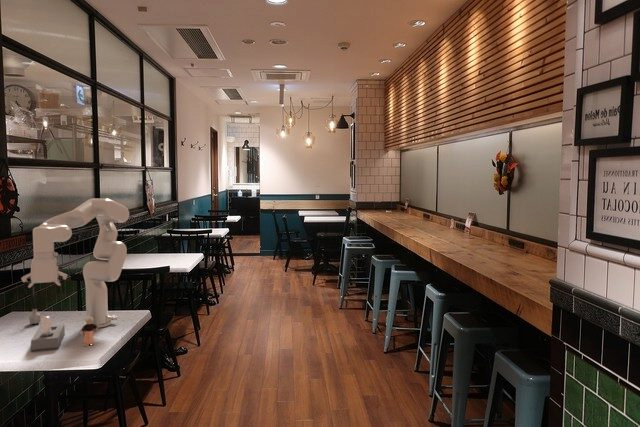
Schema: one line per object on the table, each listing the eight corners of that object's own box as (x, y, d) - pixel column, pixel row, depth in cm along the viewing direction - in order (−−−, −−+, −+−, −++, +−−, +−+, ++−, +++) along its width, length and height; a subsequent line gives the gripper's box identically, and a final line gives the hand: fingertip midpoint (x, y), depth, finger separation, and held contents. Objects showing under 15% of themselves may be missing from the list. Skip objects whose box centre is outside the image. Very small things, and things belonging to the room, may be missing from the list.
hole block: (64, 334, 226) (64, 324, 226) (58, 349, 208) (58, 337, 207) (40, 337, 223) (39, 326, 223) (31, 352, 204) (30, 340, 204)
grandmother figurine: (84, 348, 210) (83, 318, 209) (79, 346, 212) (78, 317, 211) (100, 343, 216) (100, 314, 215) (95, 341, 218) (94, 313, 217)
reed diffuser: (43, 324, 241) (41, 284, 240) (26, 327, 237) (25, 286, 235) (38, 320, 249) (36, 281, 247) (22, 322, 244) (21, 283, 243)
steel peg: (52, 342, 213) (51, 315, 212) (51, 345, 210) (49, 317, 209) (42, 343, 212) (41, 316, 211) (41, 346, 208) (40, 318, 207)
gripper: (67, 253, 215) (69, 291, 216) (22, 255, 208) (24, 295, 210) (65, 256, 208) (67, 295, 209) (18, 258, 201) (20, 299, 203)
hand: (45, 295), depth 209 cm, fingers open, 9 cm apart
